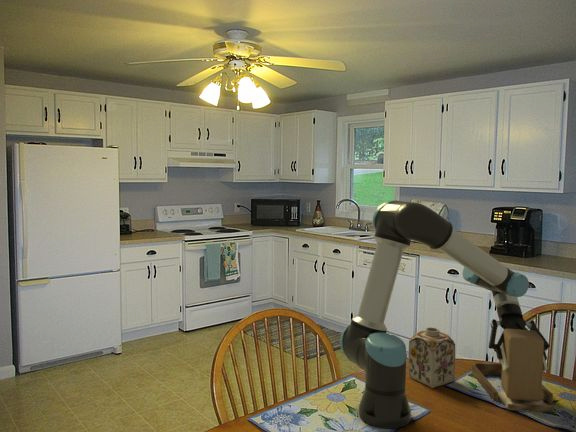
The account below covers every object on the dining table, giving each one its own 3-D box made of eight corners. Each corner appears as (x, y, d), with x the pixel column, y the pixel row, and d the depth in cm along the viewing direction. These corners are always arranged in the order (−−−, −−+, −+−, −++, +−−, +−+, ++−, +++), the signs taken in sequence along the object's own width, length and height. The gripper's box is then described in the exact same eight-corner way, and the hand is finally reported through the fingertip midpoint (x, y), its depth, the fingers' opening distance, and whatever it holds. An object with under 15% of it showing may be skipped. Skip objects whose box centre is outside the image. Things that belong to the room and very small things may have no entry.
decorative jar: (429, 370, 177) (431, 322, 176) (455, 381, 168) (457, 331, 166) (406, 376, 171) (407, 327, 170) (431, 389, 161) (433, 336, 160)
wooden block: (533, 389, 158) (536, 329, 156) (541, 403, 148) (545, 339, 146) (500, 386, 160) (502, 327, 158) (506, 399, 150) (509, 337, 149)
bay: (500, 409, 147) (500, 397, 147) (471, 372, 175) (471, 362, 175) (561, 411, 146) (561, 399, 146) (522, 374, 174) (522, 363, 174)
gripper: (539, 314, 167) (559, 375, 152) (470, 312, 168) (483, 373, 154) (547, 303, 161) (569, 365, 147) (475, 301, 162) (490, 363, 148)
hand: (525, 369), depth 150 cm, fingers closed on wooden block, 11 cm apart
